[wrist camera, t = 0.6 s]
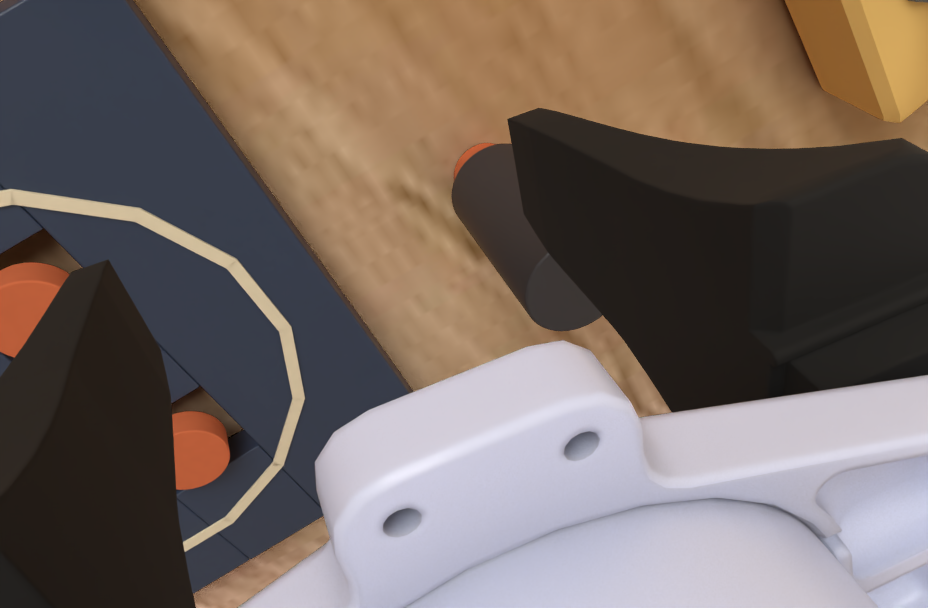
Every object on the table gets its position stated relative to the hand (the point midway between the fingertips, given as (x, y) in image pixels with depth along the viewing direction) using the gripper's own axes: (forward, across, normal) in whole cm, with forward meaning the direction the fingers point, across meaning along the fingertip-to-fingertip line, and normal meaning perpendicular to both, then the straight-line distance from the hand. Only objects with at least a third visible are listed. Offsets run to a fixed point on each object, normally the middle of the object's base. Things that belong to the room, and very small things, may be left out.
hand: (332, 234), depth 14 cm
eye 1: (+10, +8, +4) cm, 14 cm away
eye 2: (+10, +6, +11) cm, 16 cm away
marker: (+10, -6, +6) cm, 13 cm away
